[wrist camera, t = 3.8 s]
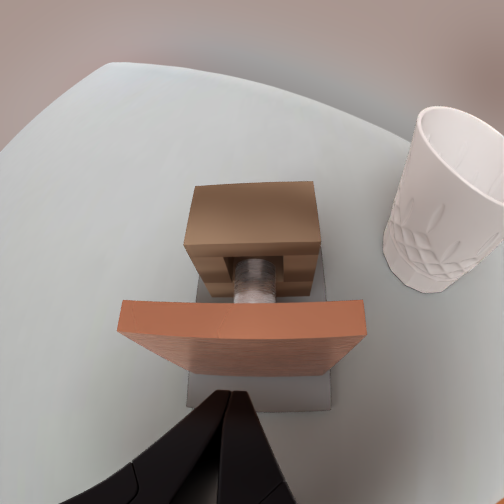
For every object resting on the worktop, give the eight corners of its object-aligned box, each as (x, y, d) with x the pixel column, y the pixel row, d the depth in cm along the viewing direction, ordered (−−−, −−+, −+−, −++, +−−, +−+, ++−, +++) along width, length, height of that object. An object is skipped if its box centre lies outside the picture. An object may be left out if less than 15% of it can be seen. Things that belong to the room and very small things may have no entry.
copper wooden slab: (322, 375, 14) (367, 334, 7) (195, 373, 15) (116, 330, 8) (318, 291, 17) (343, 191, 10) (202, 293, 17) (149, 199, 10)
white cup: (375, 201, 21) (407, 92, 13) (458, 222, 20) (510, 131, 11) (370, 291, 18) (431, 181, 9) (466, 309, 16) (555, 228, 7)
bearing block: (329, 409, 14) (359, 408, 8) (189, 407, 15) (138, 401, 9) (319, 250, 19) (332, 181, 14) (204, 252, 20) (177, 187, 15)
